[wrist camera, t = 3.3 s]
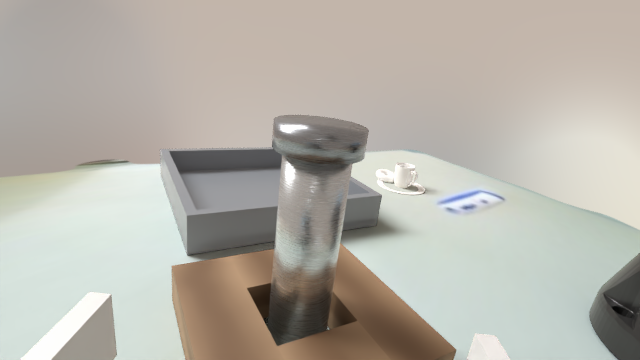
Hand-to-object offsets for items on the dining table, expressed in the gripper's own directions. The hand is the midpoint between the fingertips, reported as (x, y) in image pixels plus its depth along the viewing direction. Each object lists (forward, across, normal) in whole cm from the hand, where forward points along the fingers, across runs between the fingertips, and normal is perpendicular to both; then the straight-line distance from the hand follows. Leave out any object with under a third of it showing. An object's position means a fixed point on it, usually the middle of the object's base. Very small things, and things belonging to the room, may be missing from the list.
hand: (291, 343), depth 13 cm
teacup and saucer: (+48, +16, -9) cm, 52 cm away
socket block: (+9, 0, -8) cm, 12 cm away
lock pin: (+9, 0, -8) cm, 12 cm away
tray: (+33, -6, -8) cm, 34 cm away
